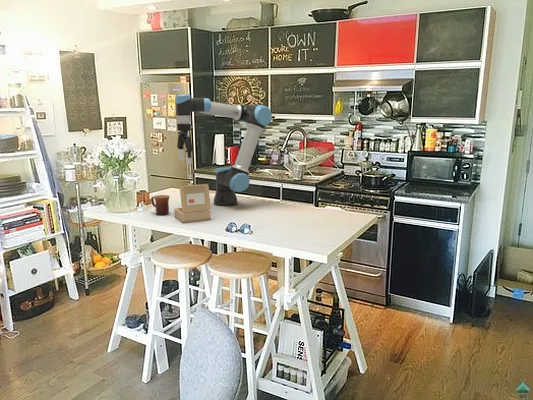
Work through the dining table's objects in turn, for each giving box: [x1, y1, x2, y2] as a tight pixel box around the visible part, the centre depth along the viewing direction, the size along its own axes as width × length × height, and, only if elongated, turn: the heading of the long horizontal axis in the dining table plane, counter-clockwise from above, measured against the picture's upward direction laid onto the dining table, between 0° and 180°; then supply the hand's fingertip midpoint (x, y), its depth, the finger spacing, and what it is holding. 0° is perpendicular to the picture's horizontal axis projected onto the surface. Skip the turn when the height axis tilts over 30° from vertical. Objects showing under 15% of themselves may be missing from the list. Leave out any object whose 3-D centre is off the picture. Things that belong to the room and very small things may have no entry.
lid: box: [179, 183, 212, 213], centre depth 241 cm, size 16×14×4 cm
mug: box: [150, 194, 171, 216], centre depth 258 cm, size 12×9×10 cm
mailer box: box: [174, 207, 212, 224], centre depth 249 cm, size 16×14×5 cm
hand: (185, 162), depth 250 cm, fingers open, 12 cm apart
